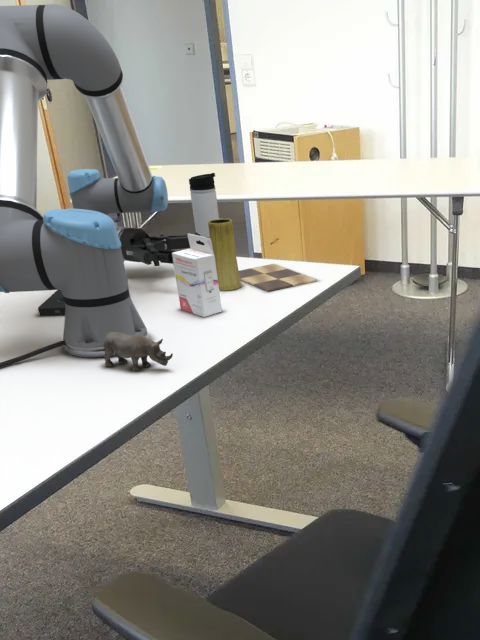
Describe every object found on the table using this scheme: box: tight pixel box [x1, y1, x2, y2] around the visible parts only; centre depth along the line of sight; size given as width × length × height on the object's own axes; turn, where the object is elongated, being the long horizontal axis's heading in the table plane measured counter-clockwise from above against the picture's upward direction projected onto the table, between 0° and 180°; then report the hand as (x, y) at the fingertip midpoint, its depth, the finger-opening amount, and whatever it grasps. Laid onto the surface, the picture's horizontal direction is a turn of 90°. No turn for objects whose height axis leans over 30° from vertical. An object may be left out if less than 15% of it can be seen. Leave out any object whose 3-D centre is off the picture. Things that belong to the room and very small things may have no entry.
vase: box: [208, 218, 242, 291], centre depth 170 cm, size 6×6×14 cm
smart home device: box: [37, 290, 66, 317], centre depth 167 cm, size 8×2×20 cm
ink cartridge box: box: [172, 232, 223, 318], centre depth 155 cm, size 9×5×15 cm, turn 47°
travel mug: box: [188, 172, 220, 237], centre depth 192 cm, size 6×7×20 cm
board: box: [239, 263, 318, 293], centre depth 179 cm, size 13×20×1 cm, turn 36°
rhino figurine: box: [103, 332, 174, 371], centre depth 131 cm, size 4×14×6 cm, turn 69°
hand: (202, 251), depth 172 cm, fingers open, 13 cm apart
